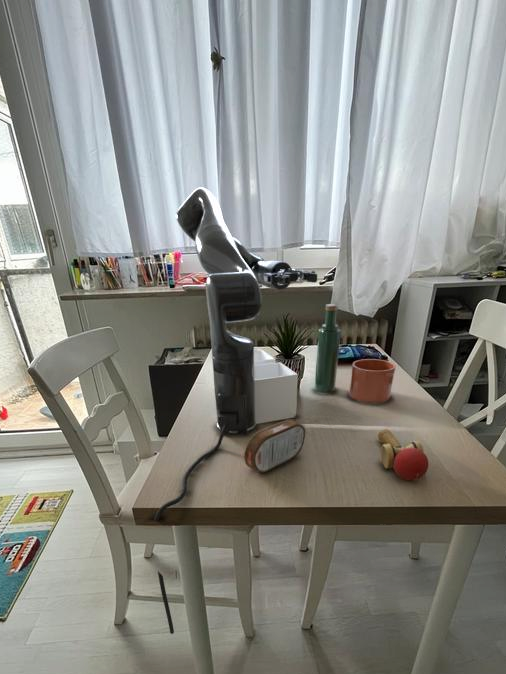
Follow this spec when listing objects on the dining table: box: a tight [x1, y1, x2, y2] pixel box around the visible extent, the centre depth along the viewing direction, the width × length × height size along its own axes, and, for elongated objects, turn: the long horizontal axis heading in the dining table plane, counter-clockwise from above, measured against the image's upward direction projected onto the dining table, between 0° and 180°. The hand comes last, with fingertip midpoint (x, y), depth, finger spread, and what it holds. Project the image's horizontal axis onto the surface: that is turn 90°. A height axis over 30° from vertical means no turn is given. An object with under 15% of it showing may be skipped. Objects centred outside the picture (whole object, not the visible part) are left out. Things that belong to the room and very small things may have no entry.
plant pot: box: [348, 358, 397, 404], centre depth 106 cm, size 11×11×9 cm
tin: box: [243, 418, 306, 474], centre depth 77 cm, size 15×3×8 cm, turn 131°
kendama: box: [377, 428, 430, 482], centre depth 77 cm, size 8×6×18 cm
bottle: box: [314, 303, 342, 394], centre depth 107 cm, size 6×6×23 cm
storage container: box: [254, 349, 299, 425], centre depth 104 cm, size 25×11×11 cm, turn 19°
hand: (302, 279), depth 106 cm, fingers open, 8 cm apart
